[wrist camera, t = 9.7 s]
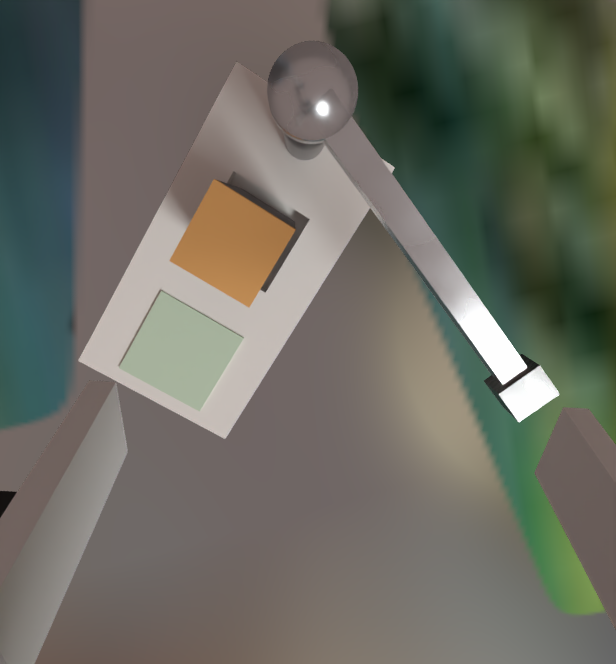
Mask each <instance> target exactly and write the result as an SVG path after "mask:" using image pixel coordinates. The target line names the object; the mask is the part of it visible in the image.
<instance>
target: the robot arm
mask: <svg viewBox="0 0 616 664" xmlns="http://www.w3.org/2000/svg"><path fill="white" fill-rule="evenodd" d="M127 452H128V450H127V444H126V439H125V432H124V426H123V420H122V414H121V409H120V403H119V397H118V391H117V385H116V382H108V381H90V380H89V382H88V383H87V384H86V386H85V388H84V389H83V391H82V392H81V394H80V395H79V397H78V398H77V400H76V401H75V403H74V405H73V406H72V408H71V409H70V411H69V412H68V414H67V415H66V417H65V419H64V420H63V422H62V423H61V425H60V427H59V428H58V430H57V431H56V432H55V434H54V436H53V437H52V439H51V440H50V442H49V443H48V445H47V446H46V448H45V450H44V451H43V453H42V454H41V456H40V457H39V459H38V460H37V462H36V464H35V465H34V467H33V468H32V470H31V471H30V473H29V474H28V476H27V477H26V479H25V481H24V482H23V484H22V485H21V487H20V488H19V490H18V492H9V491H0V664H34V663H35V661H36V659H37V657H38V654H39V652H40V650H41V647H42V645H43V643H44V641H45V638H46V636H47V634H48V632H49V629H50V627H51V625H52V622H53V620H54V618H55V616H56V613H57V611H58V609H59V607H60V604H61V602H62V600H63V598H64V595H65V593H66V591H67V588H68V586H69V584H70V582H71V579H72V577H73V575H74V573H75V570H76V568H77V566H78V563H79V561H80V559H81V557H82V554H83V552H84V550H85V547H86V545H87V543H88V541H89V538H90V536H91V534H92V532H93V529H94V527H95V525H96V523H97V520H98V518H99V516H100V513H101V511H102V509H103V507H104V504H105V502H106V500H107V497H108V495H109V493H110V491H111V488H112V486H113V484H114V482H115V479H116V477H117V475H118V473H119V470H120V468H121V466H122V463H123V461H124V459H125V457H126V454H127ZM535 475H536V477H537V479H538V481H539V483H540V485H541V487H542V488H543V490H544V492H545V494H546V496H547V498H548V500H549V502H550V504H551V506H552V508H553V510H554V512H555V514H556V516H557V517H558V519H559V521H560V523H561V525H562V527H563V529H564V531H565V533H566V535H567V537H568V539H569V541H570V543H571V545H572V546H573V548H574V550H575V552H576V554H577V556H578V558H579V560H580V562H581V564H582V566H583V568H584V570H585V572H586V574H587V575H588V577H589V579H590V581H591V583H592V585H593V587H594V589H595V591H596V593H597V595H598V597H599V599H600V601H601V603H602V604H603V606H604V608H605V610H606V612H607V614H608V616H609V618H610V620H611V622H612V624H613V626H614V628H615V629H616V445H615V443H614V442H613V441H612V439H611V438H610V437H609V435H608V434H607V433H606V431H605V430H604V429H603V427H602V426H601V425H600V423H599V422H598V421H597V419H596V418H595V417H594V415H593V414H592V413H591V411H590V410H589V409H581V408H564V407H563V409H562V412H561V414H560V416H559V418H558V421H557V423H556V425H555V427H554V430H553V432H552V434H551V437H550V439H549V441H548V443H547V446H546V448H545V450H544V452H543V455H542V457H541V459H540V461H539V464H538V466H537V468H536V471H535Z"/></svg>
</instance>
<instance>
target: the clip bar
mask: <svg viewBox="0 0 616 664" xmlns="http://www.w3.org/2000/svg"><path fill="white" fill-rule="evenodd" d="M267 96H268V102H269V106H270V111H271V114H272V117H273V119H274V121H275V123H276V124H277V126H278V127H279V128H280V130H281V131H282V132H283V133H284V134H285V135H287V136H288V137H290V138H291V139H293V140H295V141H297V142H300V143H304V144H319V143H324V145H325V146H326V147H327V149H328V150H329V152H330V153H331V154H332V156H333V157H334V158H335V160H336V161H337V163H338V164H339V165H340V167H341V168H342V170H343V171H344V172H345V174H346V175H347V176H348V178H349V179H350V181H351V182H352V183H353V185H354V186H355V187H356V189H357V190H358V192H359V193H360V194H361V196H362V197H363V198H364V200H365V201H366V203H367V204H368V205H369V207H370V208H371V209H372V211H373V212H374V214H375V215H376V216H377V218H378V219H379V220H380V222H381V223H382V225H383V226H384V227H385V229H386V230H387V232H388V233H389V234H390V236H391V237H392V238H393V240H394V241H395V243H396V244H397V245H398V247H399V248H400V249H401V251H402V252H403V254H404V255H405V256H406V258H407V259H408V260H409V262H410V263H411V265H412V266H413V267H414V269H415V270H416V271H417V273H418V274H419V276H420V277H421V278H422V280H423V281H424V282H425V284H426V285H427V287H428V288H429V289H430V291H431V292H432V293H433V295H434V296H435V298H436V299H437V300H438V302H439V303H440V305H441V306H442V307H443V309H444V310H445V311H446V313H447V314H448V316H449V317H450V318H451V320H452V321H453V322H454V324H455V325H456V327H457V328H458V329H459V331H460V332H461V333H462V335H463V336H464V338H465V339H466V340H467V342H468V343H469V344H470V346H471V347H472V349H473V350H474V351H475V353H476V354H477V355H478V357H479V358H480V360H481V361H482V362H483V364H484V365H485V367H486V368H487V369H488V371H489V372H490V373H491V376H490V377H488V378H487V379H486V380H484V382H485V383H486V385H487V386H488V387H489V389H490V390H491V391H492V393H493V394H494V395H495V397H496V398H497V400H498V401H499V402H500V404H501V405H502V406H503V407H504V408H505V409H506V410H507V411H508V412H509V413H510V414H511V415H512V416H513V417H514V418H515V419H516V420H517V421H518V422H520V421H521V420H523V419H524V418H526V417H527V416H529V415H530V414H532V413H533V412H535V411H536V410H538V409H539V408H540V407H542V406H543V405H545V404H546V403H548V402H549V401H551V400H552V399H554V398H555V397H556V396H558V395H559V392H558V391H557V390H556V388H555V387H554V385H553V384H552V382H551V381H550V379H549V378H548V377H547V375H546V374H545V372H544V371H543V369H542V368H541V366H540V365H538V364H537V363H535V362H534V361H532V360H531V359H529V358H528V357H526V356H524V355H523V354H521V355H520V356H519V354H518V353H517V352H516V350H515V349H514V347H513V346H512V344H511V343H510V342H509V340H508V339H507V337H506V336H505V335H504V333H503V332H502V330H501V329H500V327H499V326H498V325H497V323H496V322H495V320H494V319H493V317H492V316H491V315H490V313H489V312H488V310H487V309H486V307H485V306H484V305H483V303H482V302H481V300H480V299H479V297H478V296H477V295H476V293H475V292H474V290H473V289H472V287H471V286H470V285H469V283H468V282H467V280H466V279H465V277H464V276H463V275H462V273H461V272H460V270H459V269H458V267H457V266H456V265H455V263H454V262H453V260H452V259H451V257H450V256H449V255H448V253H447V252H446V250H445V249H444V248H443V246H442V245H441V243H440V242H439V240H438V239H437V238H436V236H435V235H434V233H433V232H432V230H431V229H430V228H429V226H428V225H427V223H426V222H425V220H424V219H423V218H422V216H421V215H420V213H419V212H418V210H417V209H416V208H415V206H414V205H413V203H412V202H411V200H410V199H409V198H408V196H407V195H406V193H405V192H404V190H403V189H402V188H401V186H400V185H399V183H398V182H397V180H396V179H395V178H394V176H393V175H392V173H391V172H390V170H389V169H388V168H387V166H386V165H385V163H384V162H383V160H382V159H381V158H380V156H379V155H378V153H377V152H376V151H375V149H374V148H373V146H372V145H371V143H370V142H369V141H368V139H367V138H366V136H365V135H364V133H363V132H362V131H361V129H360V128H359V126H358V125H357V123H356V122H355V121H354V119H353V118H352V114H353V112H354V110H355V107H356V103H357V98H358V84H357V78H356V75H355V72H354V69H353V67H352V65H351V63H350V62H349V60H348V59H347V58H346V56H345V55H344V54H343V53H342V52H341V51H339V50H338V49H337V48H335V47H333V46H332V45H330V44H327V43H324V42H320V41H305V42H301V43H298V44H295V45H293V46H292V47H290V48H289V49H287V50H286V51H284V52H283V53H282V54H281V55H280V56H279V58H278V59H277V60H276V62H275V63H274V65H273V67H272V69H271V72H270V75H269V78H268V85H267Z"/></svg>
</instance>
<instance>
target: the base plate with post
mask: <svg viewBox="0 0 616 664" xmlns="http://www.w3.org/2000/svg"><path fill="white" fill-rule="evenodd" d="M267 85H268V82H267V81H265V80H264V79H262V78H261V77H260V76H258V75H256V74H255V73H253V72H252V71H251V70H249V69H248V68H246V67H245V66H243V65H242V64H240V63H239V62H237V61H236V63H235V65H234V67H233V69H232V71H231V73H230V74H229V76H228V78H227V80H226V82H225V84H224V86H223V88H222V89H221V91H220V93H219V95H218V97H217V99H216V101H215V103H214V105H213V107H212V109H211V110H210V112H209V114H208V116H207V118H206V120H205V122H204V124H203V126H202V127H201V129H200V131H199V133H198V135H197V137H196V139H195V141H194V143H193V144H192V146H191V149H190V150H189V152H188V154H187V156H186V158H185V160H184V161H183V163H182V165H181V167H180V169H179V171H178V173H177V175H176V177H175V179H174V180H173V182H172V184H171V186H170V188H169V190H168V192H167V194H166V196H165V197H164V200H163V201H162V203H161V205H160V207H159V209H158V211H157V213H156V215H155V217H154V218H153V220H152V222H151V224H150V226H149V228H148V230H147V232H146V234H145V235H144V237H143V239H142V241H141V243H140V245H139V247H138V249H137V251H136V252H135V254H134V256H133V258H132V260H131V262H130V264H129V266H128V268H127V270H126V271H125V273H124V275H123V277H122V279H121V281H120V283H119V285H118V287H117V288H116V290H115V292H114V294H113V296H112V298H111V300H110V302H109V304H108V306H107V308H106V309H105V311H104V313H103V315H102V317H101V319H100V321H99V323H98V324H97V326H96V328H95V330H94V332H93V334H92V336H91V338H90V340H89V342H88V343H87V345H86V347H85V349H84V351H83V353H82V355H81V357H80V359H79V361H80V362H81V363H83V364H85V365H87V366H89V367H91V368H93V369H95V370H97V371H98V372H100V373H102V374H104V375H106V376H108V377H110V378H112V379H113V380H115V381H117V382H119V383H121V384H123V385H125V386H127V387H129V388H130V389H132V390H134V391H136V392H138V393H140V394H141V395H143V396H146V397H147V398H149V399H151V400H153V401H155V402H157V403H158V404H160V405H162V406H164V407H166V408H168V409H170V410H172V411H174V412H175V413H177V414H179V415H181V416H183V417H185V418H187V419H189V420H190V421H193V422H194V423H196V424H198V425H200V426H202V427H204V428H205V429H207V430H209V431H211V432H213V433H215V434H217V435H219V436H220V437H222V438H224V439H225V438H226V437H227V435H228V434H229V432H230V430H231V429H232V427H233V425H234V424H235V422H236V421H237V419H238V418H239V416H240V414H241V413H242V411H243V410H244V408H245V406H246V405H247V403H248V402H249V400H250V398H251V397H252V395H253V394H254V392H255V391H256V389H257V387H258V386H259V384H260V382H261V381H262V379H263V378H264V376H265V375H266V373H267V371H268V370H269V368H270V366H271V365H272V363H273V362H274V360H275V359H276V357H277V355H278V353H279V352H280V351H281V349H282V347H283V346H284V344H285V343H286V341H287V339H288V338H289V336H290V335H291V333H292V331H293V330H294V328H295V327H296V325H297V323H298V322H299V320H300V318H301V317H302V315H303V314H304V312H305V311H306V309H307V307H308V306H309V304H310V303H311V301H312V299H313V298H314V296H315V295H316V293H317V291H318V290H319V288H320V287H321V285H322V283H323V282H324V280H325V279H326V277H327V275H328V274H329V272H330V271H331V269H332V268H333V266H334V264H335V263H336V261H337V260H338V258H339V256H340V255H341V253H342V251H343V250H344V248H345V246H346V245H347V243H348V242H349V240H350V239H351V237H352V235H353V234H354V232H355V231H356V229H357V228H358V226H359V224H360V223H361V221H362V220H363V218H364V216H365V215H366V213H367V211H368V210H369V208H370V207H369V205H368V204H367V203H366V201H365V200H364V198H363V197H362V196H361V194H360V193H359V192H358V190H357V189H356V187H355V186H354V185H353V183H352V182H351V181H350V179H349V178H348V176H347V175H346V174H345V172H344V171H343V170H342V168H341V167H340V165H339V164H338V163H337V161H336V160H335V158H334V157H333V156H332V154H331V153H330V152H329V150H328V149H327V147H326V146H325V145H324V143H319V144H304V143H300V142H297V141H295V140H293V139H291V138H290V137H288V136H287V135H285V134H284V133H283V132H282V131H281V130H280V128H279V127H278V126H277V124H276V123H275V121H274V119H273V117H272V114H271V111H270V106H269V102H268V96H267ZM382 160H383V159H382ZM383 162H384V163H385V165H386V166H387V168H388V169H389V170H390V172H391V173H392V172H393V170H394V168H395V167H393V166H392V165H390V164H389V163H387V162H386V161H384V160H383ZM214 179H216V180H219V181H222V182H225V183H228V184H231V185H234V186H237V187H240V188H242V189H244V190H245V191H247V192H248V193H250V194H251V195H253V196H255V197H256V198H258V199H259V200H261V201H263V202H264V203H266V204H267V205H269V206H271V207H272V208H274V209H275V210H277V211H279V212H280V213H282V214H283V215H285V216H287V217H288V218H290V219H291V220H293V221H294V222H295V227H296V230H295V232H294V234H293V235H292V237H291V239H290V240H289V242H288V244H287V245H286V247H285V249H284V251H283V252H282V254H281V256H280V257H279V259H278V261H277V262H276V264H275V266H274V267H273V269H272V271H271V272H270V274H269V276H268V277H267V279H266V281H265V282H264V284H263V286H262V287H261V289H260V291H259V292H258V294H257V296H256V297H255V299H254V301H253V302H252V304H251V306H250V307H247V306H245V305H244V304H242V303H240V302H239V301H237V300H235V299H233V298H232V297H230V296H228V295H227V294H225V293H223V292H222V291H220V290H218V289H216V288H215V287H213V286H211V285H210V284H208V283H206V282H204V281H203V280H201V279H199V278H198V277H196V276H194V275H193V274H191V273H189V272H187V271H186V270H184V269H182V268H181V267H179V266H177V265H175V264H174V263H172V262H170V261H169V260H170V258H171V257H172V255H173V253H174V251H175V249H176V247H177V246H178V244H179V242H180V240H181V238H182V236H183V235H184V233H185V231H186V229H187V227H188V225H189V224H190V222H191V220H192V218H193V216H194V214H195V213H196V211H197V209H198V207H199V205H200V203H201V202H202V200H203V198H204V196H205V194H206V192H207V191H208V189H209V187H210V185H211V183H212V181H213V180H214Z"/></svg>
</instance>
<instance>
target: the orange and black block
mask: <svg viewBox="0 0 616 664" xmlns="http://www.w3.org/2000/svg"><path fill="white" fill-rule="evenodd" d="M295 230H296V227H295V222H294V221H293V220H291V219H290V218H288V217H287V216H285V215H283V214H282V213H280V212H279V211H277V210H275V209H274V208H272V207H271V206H269V205H267V204H266V203H264V202H263V201H261V200H259V199H258V198H256V197H255V196H253V195H251V194H250V193H248V192H247V191H245V190H244V189H242V188H240V187H237V186H234V185H231V184H228V183H225V182H222V181H219V180H216V179H214V180H213V181H212V183H211V185H210V187H209V189H208V191H207V192H206V194H205V196H204V198H203V200H202V202H201V203H200V205H199V207H198V209H197V211H196V213H195V214H194V216H193V218H192V220H191V222H190V224H189V225H188V227H187V229H186V231H185V233H184V235H183V236H182V238H181V240H180V242H179V244H178V246H177V247H176V249H175V251H174V253H173V255H172V257H171V258H170V260H169V261H170V262H172V263H174V264H175V265H177V266H179V267H181V268H182V269H184V270H186V271H187V272H189V273H191V274H193V275H194V276H196V277H198V278H199V279H201V280H203V281H204V282H206V283H208V284H210V285H211V286H213V287H215V288H216V289H218V290H220V291H222V292H223V293H225V294H227V295H228V296H230V297H232V298H233V299H235V300H237V301H239V302H240V303H242V304H244V305H245V306H247V307H250V306H251V304H252V302H253V301H254V299H255V297H256V296H257V294H258V292H259V291H260V289H261V287H262V286H263V284H264V282H265V281H266V279H267V277H268V276H269V274H270V272H271V271H272V269H273V267H274V266H275V264H276V262H277V261H278V259H279V257H280V256H281V254H282V252H283V251H284V249H285V247H286V245H287V244H288V242H289V240H290V239H291V237H292V235H293V234H294V232H295Z"/></svg>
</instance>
